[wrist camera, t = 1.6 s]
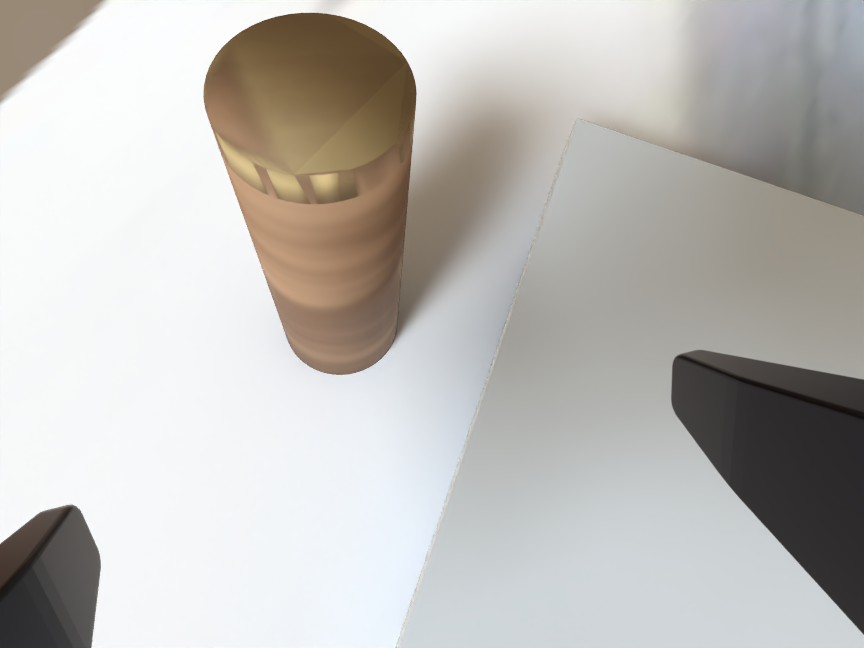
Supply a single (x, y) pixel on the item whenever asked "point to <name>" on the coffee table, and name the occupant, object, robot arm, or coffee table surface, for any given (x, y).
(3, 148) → the coffee table surface
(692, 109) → the coffee table surface
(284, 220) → the cylinder
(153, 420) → the coffee table surface
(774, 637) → the caster cart
